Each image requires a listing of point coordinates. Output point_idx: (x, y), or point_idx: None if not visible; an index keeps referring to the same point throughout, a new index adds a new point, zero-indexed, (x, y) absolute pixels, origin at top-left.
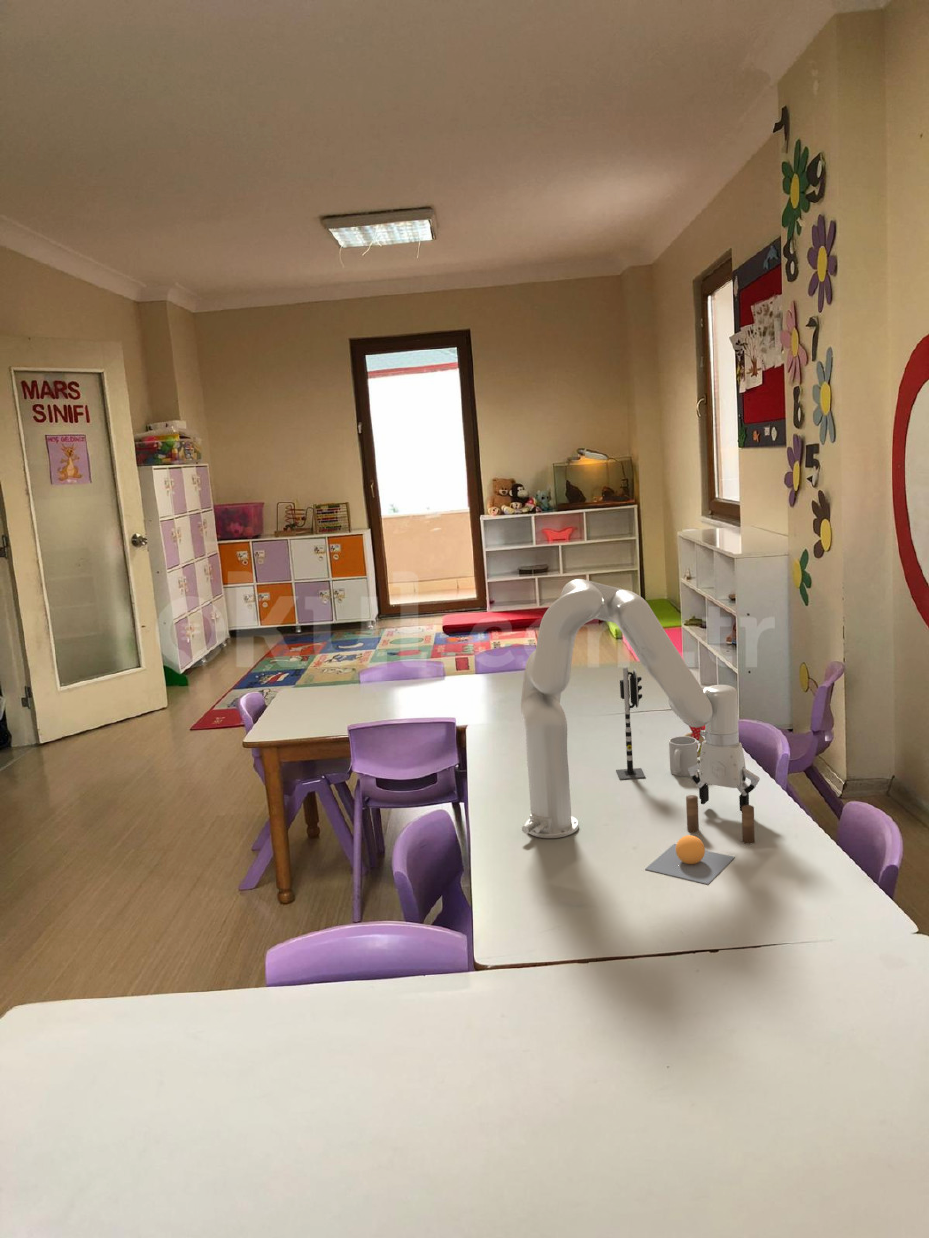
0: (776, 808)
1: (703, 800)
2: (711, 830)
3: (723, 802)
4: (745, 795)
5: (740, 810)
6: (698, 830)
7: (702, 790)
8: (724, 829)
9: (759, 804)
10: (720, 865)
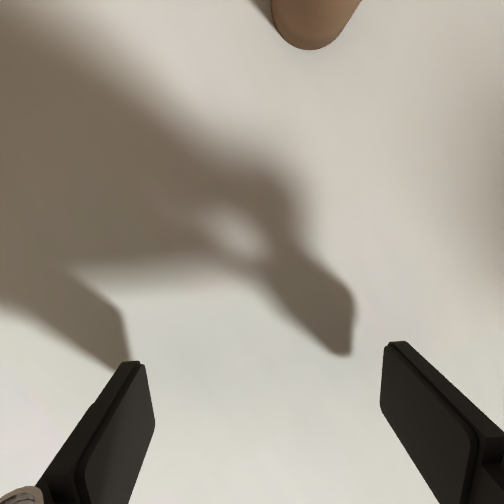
0: None
1: (401, 358)
2: (201, 70)
3: (315, 446)
4: (7, 496)
5: (134, 361)
6: (271, 4)
7: (471, 425)
8: (139, 133)
9: (161, 499)
10: None
